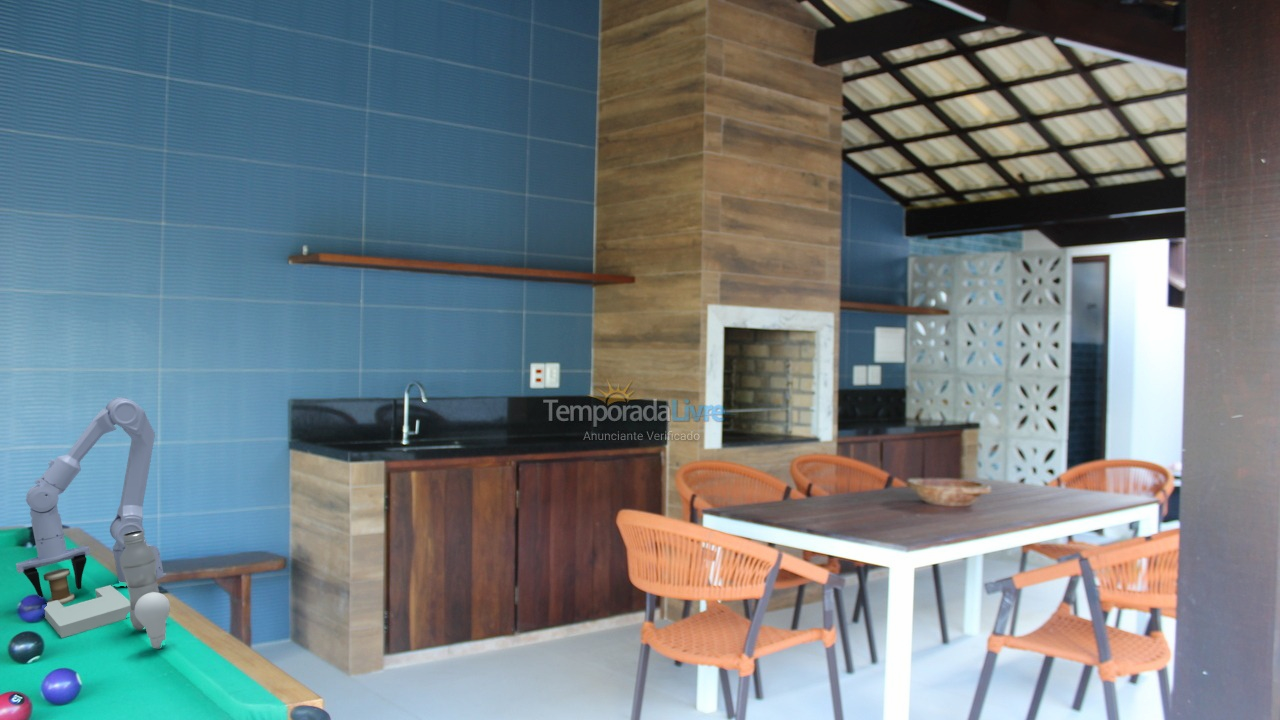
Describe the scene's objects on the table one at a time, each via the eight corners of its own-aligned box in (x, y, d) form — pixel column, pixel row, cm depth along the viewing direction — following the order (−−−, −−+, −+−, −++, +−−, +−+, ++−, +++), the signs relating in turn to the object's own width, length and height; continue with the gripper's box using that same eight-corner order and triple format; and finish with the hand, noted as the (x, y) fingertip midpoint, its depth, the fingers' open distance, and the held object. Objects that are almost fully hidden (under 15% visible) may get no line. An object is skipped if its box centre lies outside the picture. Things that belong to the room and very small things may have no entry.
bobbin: (80, 597, 230) (74, 568, 229) (61, 605, 225) (56, 576, 224) (62, 597, 231) (56, 568, 230) (43, 606, 226) (37, 576, 225)
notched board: (136, 615, 211) (133, 604, 211) (61, 638, 202) (59, 626, 202) (112, 595, 228) (110, 584, 228) (43, 615, 219) (40, 604, 219)
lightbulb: (135, 653, 188) (124, 598, 187) (163, 640, 193) (153, 586, 192) (156, 656, 185) (145, 600, 184) (184, 643, 191) (174, 588, 189)
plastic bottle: (154, 633, 198) (136, 537, 196) (125, 634, 200) (107, 539, 197) (175, 621, 204) (158, 527, 202) (147, 622, 206) (129, 529, 203)
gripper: (81, 525, 234) (91, 580, 235) (9, 542, 225) (21, 600, 226) (87, 529, 228) (98, 586, 230) (14, 547, 219) (26, 606, 221)
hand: (60, 593), depth 228 cm, fingers open, 7 cm apart
